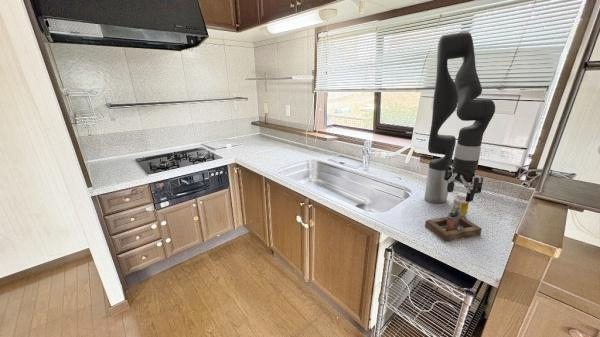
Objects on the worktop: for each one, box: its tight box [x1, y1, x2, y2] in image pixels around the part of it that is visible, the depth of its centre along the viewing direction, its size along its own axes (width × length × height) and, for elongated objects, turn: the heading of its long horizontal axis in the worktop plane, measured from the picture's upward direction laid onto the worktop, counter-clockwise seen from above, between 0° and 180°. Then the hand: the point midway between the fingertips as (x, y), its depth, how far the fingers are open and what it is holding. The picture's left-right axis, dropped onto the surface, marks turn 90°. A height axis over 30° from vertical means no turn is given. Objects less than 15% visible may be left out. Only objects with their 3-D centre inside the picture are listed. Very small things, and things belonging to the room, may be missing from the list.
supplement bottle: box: [451, 192, 470, 218], centre depth 107 cm, size 6×6×10 cm
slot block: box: [424, 216, 483, 243], centre depth 98 cm, size 16×11×3 cm
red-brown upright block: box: [444, 206, 461, 231], centre depth 97 cm, size 8×3×10 cm, turn 129°
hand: (458, 196), depth 93 cm, fingers open, 8 cm apart
